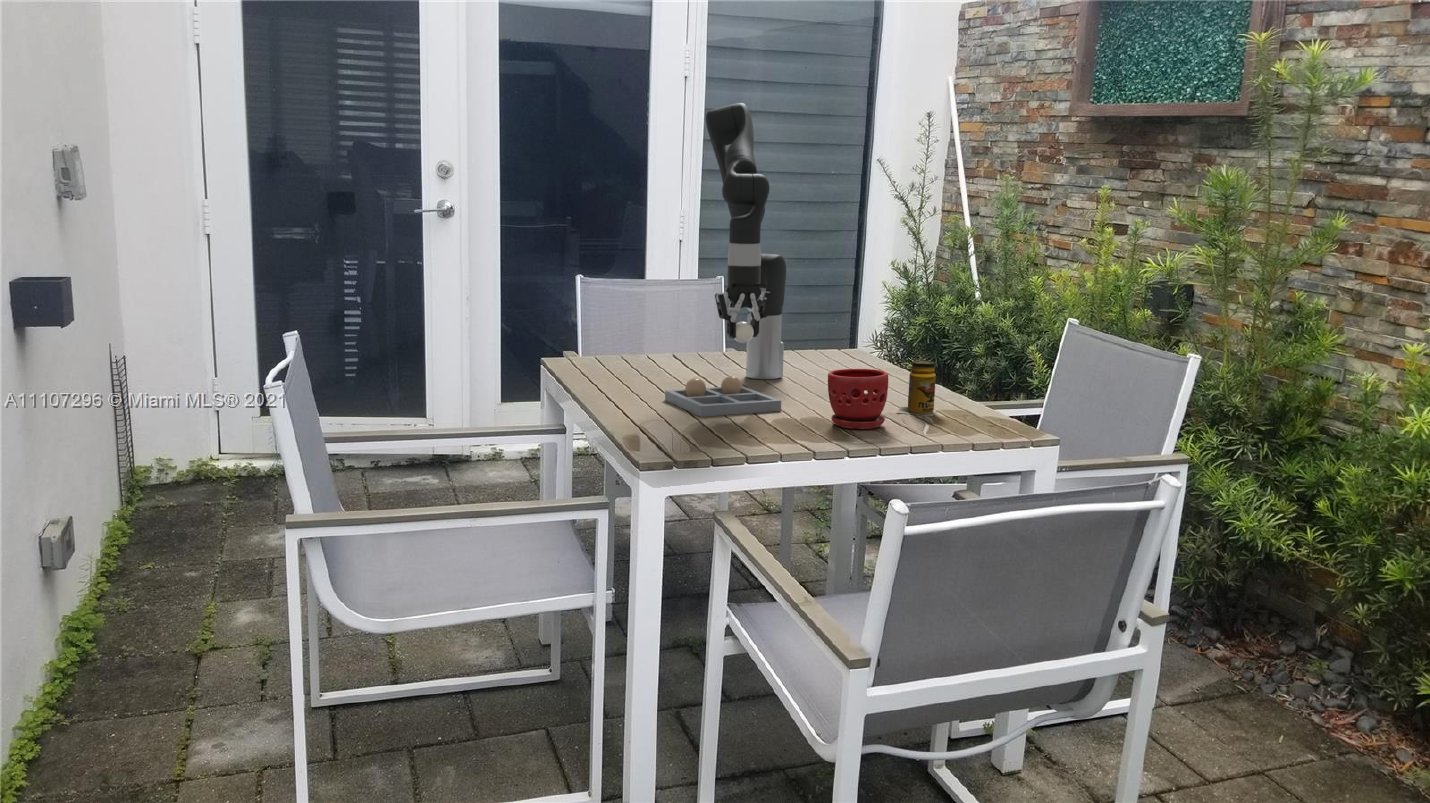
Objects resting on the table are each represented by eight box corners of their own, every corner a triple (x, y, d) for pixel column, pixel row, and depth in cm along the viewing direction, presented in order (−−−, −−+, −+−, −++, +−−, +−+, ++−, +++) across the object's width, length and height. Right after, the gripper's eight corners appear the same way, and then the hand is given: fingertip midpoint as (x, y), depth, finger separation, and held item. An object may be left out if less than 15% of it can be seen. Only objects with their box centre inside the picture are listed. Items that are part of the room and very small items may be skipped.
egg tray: (740, 395, 277) (741, 385, 277) (781, 410, 259) (781, 400, 259) (664, 400, 268) (665, 390, 268) (701, 416, 250) (701, 406, 250)
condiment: (933, 416, 257) (936, 365, 255) (896, 413, 259) (899, 362, 257) (936, 410, 264) (939, 360, 261) (900, 407, 266) (903, 358, 264)
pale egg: (747, 340, 261) (748, 319, 260) (757, 344, 257) (757, 322, 256) (728, 341, 259) (728, 320, 258) (737, 345, 255) (738, 323, 254)
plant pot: (875, 419, 252) (877, 366, 250) (894, 431, 240) (897, 376, 237) (819, 419, 250) (821, 367, 248) (835, 432, 237) (837, 377, 235)
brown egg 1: (700, 396, 269) (700, 375, 268) (709, 400, 265) (709, 379, 264) (681, 397, 267) (681, 377, 266) (690, 401, 262) (690, 380, 261)
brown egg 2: (735, 394, 273) (736, 373, 272) (745, 397, 269) (745, 377, 268) (717, 395, 271) (717, 374, 270) (726, 398, 266) (726, 378, 266)
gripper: (764, 261, 261) (762, 333, 264) (708, 262, 255) (707, 336, 258) (779, 263, 254) (777, 338, 258) (722, 265, 248) (721, 341, 252)
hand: (742, 336), depth 258 cm, fingers closed on pale egg, 5 cm apart
